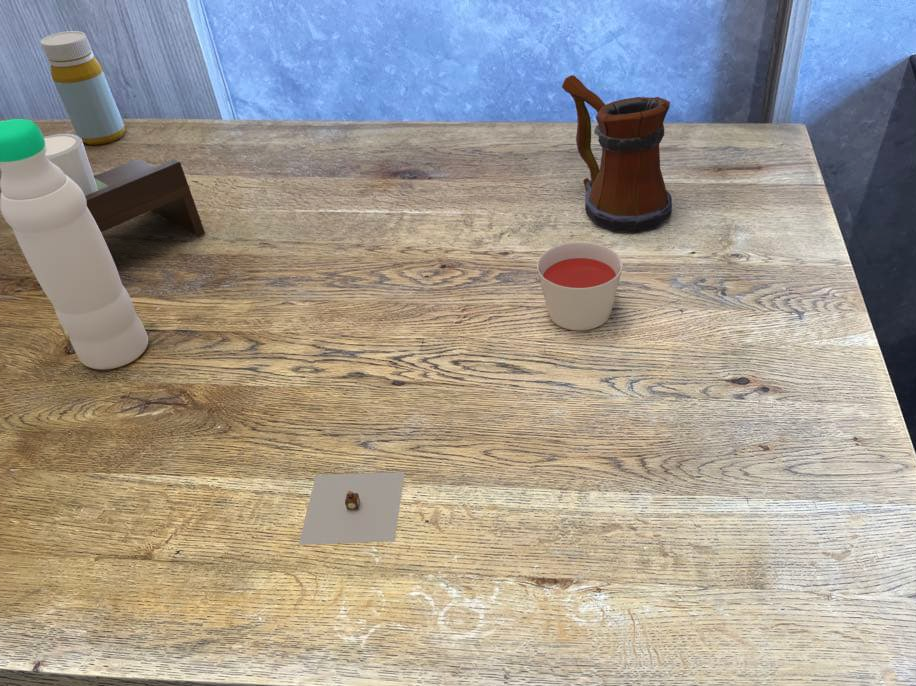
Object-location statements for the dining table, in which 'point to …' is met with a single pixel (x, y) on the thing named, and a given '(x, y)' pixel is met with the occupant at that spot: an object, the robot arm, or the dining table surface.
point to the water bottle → (66, 251)
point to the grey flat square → (353, 508)
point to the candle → (579, 283)
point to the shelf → (144, 196)
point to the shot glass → (71, 159)
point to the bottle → (83, 88)
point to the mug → (623, 160)
